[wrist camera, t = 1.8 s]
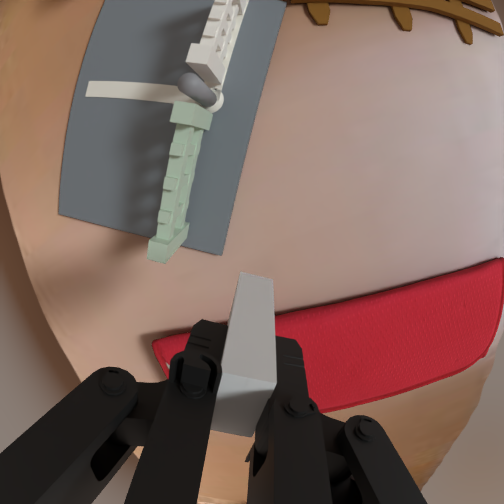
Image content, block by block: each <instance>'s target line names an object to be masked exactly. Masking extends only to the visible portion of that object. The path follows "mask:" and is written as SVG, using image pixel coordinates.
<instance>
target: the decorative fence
mask: <svg viewBox="0 0 504 504" xmlns="http://www.w3.org/2000/svg"><path fill="white" fill-rule="evenodd" d="M290 1H291V3H306V4H307V7H308V11H309V14H310V15H311V16H312V18H313V19H314V20H315V22H316V23H317V25H327V24H328V20H329V15H330V8H329V5H328V3H354V4H367V5H385V6H391V9H392V12H393V15H394V18H395V19H396V21H397V22H398V24H399V25H400V27H401V29H402V30H403V31H411V30H412V16H411V13H410V10H409V8H415V9H422V10H428V11H432V12H436V13H439V14H442V15H445V16H448V17H451V18H454V20H455V23H456V26H457V29H458V31H459V33H460V35H461V37H462V38H463V40H464V42H465V43H466V44H469V45H471V44H473V34H472V30H471V27H470V24H471V25H474V26H476V27H479V28H481V29H483V30H486V31H488V32H490V33H493V34H495V35H497V36H499V37H500V36H503V35H504V34H503V31H502V28H501V25H500V23H498V22H496V21H494V20H492V19H490V18H488V17H485V16H483V15H481V14H479V13H476V12H474V11H472V10H469V9H467V8H464V7H463V5H462V3H461V1H462V2H465V3H467V4H470V5H473V6H476V7H478V8H481V9H483V10H486V11H488V12H494V11H495V9H494V7H493V4H492V2H491V0H447V1H445V0H290Z"/></svg>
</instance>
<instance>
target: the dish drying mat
mask: <svg viewBox="0 0 504 504" xmlns="http://www.w3.org/2000/svg"><path fill="white" fill-rule="evenodd" d="M503 304H504V258H503V257H500V258H498V259H494V260H492V261H489V262H486V263H483V264H480V265H477V266H474V267H471V268H468V269H464V270H461V271H457V272H454V273H450V274H446V275H443V276H439V277H435V278H432V279H429V280H425V281H421V282H417V283H414V284H411V285H407V286H404V287H400V288H396V289H392V290H389V291H385V292H381V293H377V294H373V295H368V296H364V297H360V298H356V299H352V300H349V301H345V302H341V303H336V304H331V305H326V306H320V307H315V308H310V309H305V310H300V311H295V312H291V313H286V314H282V315H277V316H275V335H276V336H281V337H286V338H291V339H296V341H297V342H298V344H299V345H300V347H301V348H302V352H303V360H304V365H305V367H304V368H305V372H306V379H307V385H308V392H309V398H311V399H312V400H313V401H314V402H315V403H316V404H317V406H318V409H319V411H320V413H327V412H332V411H337V410H341V409H346V408H350V407H354V406H357V405H361V404H365V403H369V402H373V401H377V400H380V399H384V398H388V397H391V396H395V395H398V394H401V393H404V392H407V391H410V390H413V389H416V388H419V387H422V386H425V385H428V384H430V383H433V382H436V381H439V380H441V379H444V378H447V377H450V376H453V375H455V374H458V373H460V372H462V371H464V370H466V369H467V368H469V367H470V366H472V365H473V364H474V363H475V362H477V361H478V360H479V359H481V358H483V357H485V356H486V354H487V352H488V349H489V347H490V345H491V344H492V342H493V340H494V337H495V335H496V332H497V329H498V326H499V322H500V319H501V314H502V310H503ZM190 333H191V332H189V333H183V334H178V335H173V336H168V337H165V338H161V339H156V340H154V341H153V342H152V348H153V351H154V354H155V356H156V358H157V360H158V362H159V364H160V365H161V367H162V369H163V371H164V373H165V375H166V377H167V379H168V378H169V368H170V360H171V359H172V357H173V356H174V355H175V354H177V353H179V352H181V351H184V349H185V346H186V344H187V341H188V338H189V336H190Z"/></svg>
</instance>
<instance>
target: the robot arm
mask: <svg viewBox="0 0 504 504" xmlns="http://www.w3.org/2000/svg"><path fill="white" fill-rule="evenodd" d="M304 367H305V365H304V360H303V352H302V348H301V347H300V345H299V344H298V342H297V341H296V339H291V338H286V337H281V336H276V335H275V315H274V291H273V279H269V278H265V277H261V276H257V275H253V274H249V273H245V272H240V276H239V280H238V284H237V288H236V292H235V296H234V300H233V304H232V308H231V312H230V316H229V320H228V324H227V325H223V324H219V323H215V322H211V321H207V320H203V319H202V320H200V321H199V322H198V323H196V324H195V325H194V326H193V328H192V331H191V333H190V336H189V338H188V341H187V344H186V346H185V349H184V351H181V352H179V353H177V354H175V355H174V356H173V357H172V359H171V360H170V368H169V378H168V379H167V380H165V381H162V382H158V383H144V382H136V380H135V378H134V376H133V375H131V374H130V373H129V372H128V371H126V370H123V369H121V368H117V367H105V368H100V369H99V370H97V371H95V372H93V373H92V374H91V375H90V376H89V377H88V378H86V379H85V380H84V381H83V382H82V383H81V384H79V385H78V386H77V387H76V388H75V389H74V390H73V391H71V392H70V393H69V394H68V395H67V396H66V397H64V398H63V399H62V400H61V401H60V402H59V403H57V404H56V405H55V406H54V407H53V408H52V409H50V410H49V411H48V412H47V413H46V414H45V415H44V416H42V417H41V418H40V419H39V420H38V421H37V422H36V423H35V424H33V425H32V426H31V427H30V428H29V429H28V430H26V431H25V432H24V433H23V434H22V435H21V436H20V437H18V438H17V439H16V440H15V441H14V442H13V443H12V444H11V445H9V446H8V447H7V448H6V449H5V450H4V451H3V452H1V453H0V504H91V503H92V502H93V501H94V500H95V499H96V497H97V496H98V495H99V494H100V493H101V491H102V490H103V489H104V488H105V486H106V485H107V484H108V483H109V481H110V480H111V479H112V478H113V476H114V475H115V474H116V473H117V471H118V470H119V469H120V468H121V466H122V465H123V464H124V463H125V461H126V460H127V459H128V457H129V456H130V455H131V453H132V452H133V451H134V450H135V449H136V447H137V446H144V448H143V451H142V453H141V456H140V459H139V462H138V465H137V468H136V470H135V473H134V476H133V479H132V482H131V485H130V488H129V491H128V493H127V496H126V499H125V503H124V504H197V499H198V493H199V488H200V482H201V477H202V471H203V466H204V461H205V455H206V450H207V445H208V439H209V434H210V430H215V431H220V432H225V433H230V434H235V435H240V436H246V437H252V436H253V434H254V432H255V442H254V444H253V446H252V448H251V450H250V451H249V453H248V455H247V457H246V460H245V462H249V460H250V467H249V481H248V494H247V504H427V502H426V500H425V499H424V497H423V495H422V493H421V492H420V490H419V488H418V487H417V485H416V483H415V481H414V480H413V478H412V476H411V475H410V473H409V471H408V469H407V468H406V466H405V464H404V463H403V461H402V459H401V458H400V456H399V454H398V453H397V451H396V449H395V448H394V446H393V444H392V442H391V441H390V439H389V437H388V436H387V434H386V432H385V431H384V429H383V428H382V426H381V425H380V424H379V423H378V422H377V421H375V420H374V419H372V418H370V417H367V416H364V415H356V416H353V417H350V418H349V419H348V420H347V421H346V423H345V422H342V421H339V420H336V419H333V418H330V417H328V416H325V415H323V414H322V413H320V411H319V409H318V406H317V404H316V403H315V402H314V401H313V400H312V399H311V398H309V392H308V385H307V379H306V372H305V368H304Z"/></svg>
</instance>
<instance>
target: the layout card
mask: <svg viewBox="0 0 504 504" xmlns="http://www.w3.org/2000/svg"><path fill="white" fill-rule="evenodd" d="M214 1H215V0H105V2H104V4H103V7H102V9H101V12H100V14H99V17H98V19H97V22H96V24H95V27H94V30H93V32H92V35H91V38H90V41H89V44H88V47H87V50H86V53H85V56H84V60H83V63H82V67H81V70H80V74H79V77H78V81H77V85H76V89H75V93H74V98H73V102H72V107H71V112H70V117H69V122H68V128H67V134H66V140H65V147H64V154H63V162H62V172H61V182H60V196H59V214H61V215H65V216H68V217H72V218H76V219H80V220H83V221H87V222H91V223H95V224H99V225H103V226H106V227H110V228H114V229H118V230H122V231H126V232H129V233H133V234H137V235H141V236H145V237H149V238H152V237H153V236H155V235H156V234H157V227H158V222H157V221H158V214H159V210H160V207H161V200H162V194H163V184H164V178H165V177H166V172H167V167H168V162H169V157H170V154H169V152H170V147H171V143H172V142H173V138H174V133H175V129H176V125H177V123H173V122H170V118H171V114H172V110H173V106H174V102H175V101H181V102H188V103H194V104H197V105H199V106H201V107H202V108H204V109H205V110H207V111H209V112H210V113H212V114H213V117H212V121H211V125H210V129H209V130H204V131H203V136H202V140H201V144H200V145H201V147H200V152H199V155H198V157H197V162H196V167H195V171H194V172H195V175H194V179H193V182H192V186H191V191H190V196H189V205H188V209H187V212H186V217H185V222H188V223H189V229H188V234H187V238H186V240H185V241H184V242H183V243H182V244H181V245H180V246H184V247H188V248H192V249H196V250H200V251H204V252H208V253H212V254H216V255H220V256H222V254H223V249H224V245H225V241H226V236H227V232H228V227H229V223H230V219H231V214H232V210H233V206H234V201H235V197H236V193H237V189H238V185H239V180H240V176H241V172H242V168H243V164H244V160H245V156H246V152H247V148H248V144H249V140H250V136H251V132H252V128H253V124H254V120H255V116H256V113H257V109H258V105H259V101H260V97H261V94H262V90H263V86H264V82H265V79H266V75H267V71H268V68H269V64H270V60H271V57H272V53H273V50H274V46H275V43H276V39H277V36H278V32H279V29H280V25H281V22H282V18H283V15H284V12H285V8H286V5H287V2H284V1H279V0H246V1H247V4H246V7H245V10H244V13H243V15H241V14H237V17H236V26H235V29H234V30H232V32H231V35H232V39H231V42H230V44H228V45H227V50H228V52H227V55H226V58H225V59H224V58H223V62H222V63H223V65H224V67H225V69H226V71H225V75H224V78H223V82H222V85H221V84H215V83H209V82H205V81H204V80H203V79H202V78H201V77H200V76H199V75H198V74H197V73H196V72H195V71H194V70H193V69H192V68H191V67H190V66H189V65H188V64H187V63H186V58H187V55H188V52H189V49H190V46H191V43H197V44H200V41H201V38H202V35H203V32H204V29H205V26H206V23H207V20H208V17H209V14H210V12H211V9H212V6H213V3H214ZM185 73H194V74H196V75H197V76H198V77H199V78H200V79H201V80H202V81H203V82H204V83H205V84H206V85H207V86H208V87H209V88H210V89H211V90H212V91H213V92H214V93H215V94H216V96H217V101H216V103H215V104H214V105H213V106H211V107H204V106H203V105H201V104H200V103H198V102H196V101H195V100H193V99H192V98H190V97H188V96H187V95H185V94H184V93H182V92H181V91H179V89H178V87H177V82H178V80H179V78H180V77H181V76H182V75H183V74H185Z"/></svg>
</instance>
